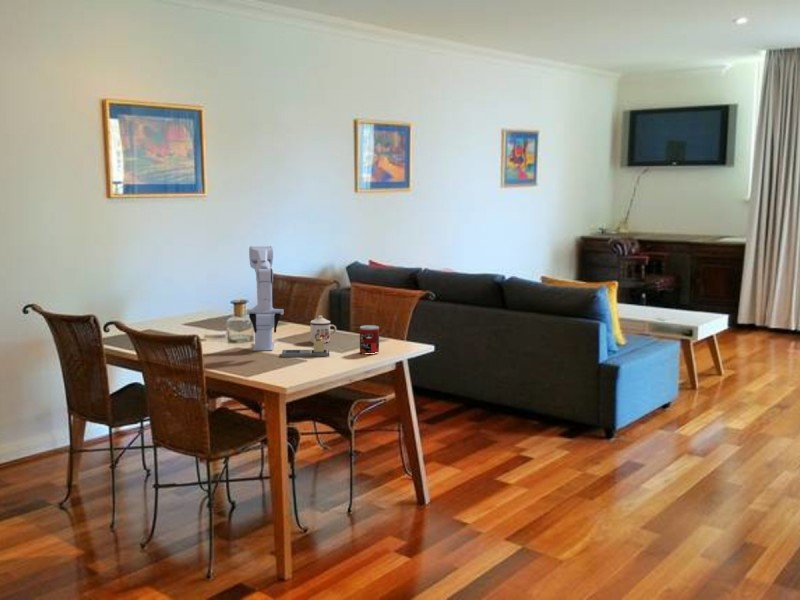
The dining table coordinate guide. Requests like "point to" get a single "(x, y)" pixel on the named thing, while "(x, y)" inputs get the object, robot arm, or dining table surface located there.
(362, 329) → the canned food
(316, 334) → the teacup with lid
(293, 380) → the dining table surface
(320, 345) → the cube with round knob
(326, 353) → the plate with square holes
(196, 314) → the dining table surface
